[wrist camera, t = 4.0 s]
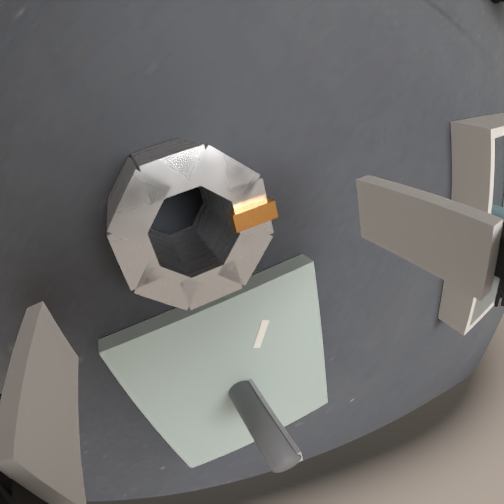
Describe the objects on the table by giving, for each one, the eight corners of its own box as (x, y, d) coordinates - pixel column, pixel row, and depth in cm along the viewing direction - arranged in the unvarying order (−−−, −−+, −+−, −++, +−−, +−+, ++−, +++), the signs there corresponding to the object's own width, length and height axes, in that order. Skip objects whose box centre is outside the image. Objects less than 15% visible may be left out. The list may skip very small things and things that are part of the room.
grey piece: (136, 273, 19) (151, 335, 14) (95, 167, 16) (86, 189, 11) (238, 232, 21) (288, 275, 16) (211, 127, 18) (260, 130, 12)
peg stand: (187, 457, 28) (219, 531, 20) (97, 339, 20) (109, 454, 12) (320, 393, 33) (371, 452, 25) (302, 253, 24) (392, 318, 16)
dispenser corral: (437, 318, 39) (463, 335, 34) (450, 121, 26) (490, 129, 22) (495, 266, 44) (517, 278, 39) (507, 112, 31) (536, 118, 27)
